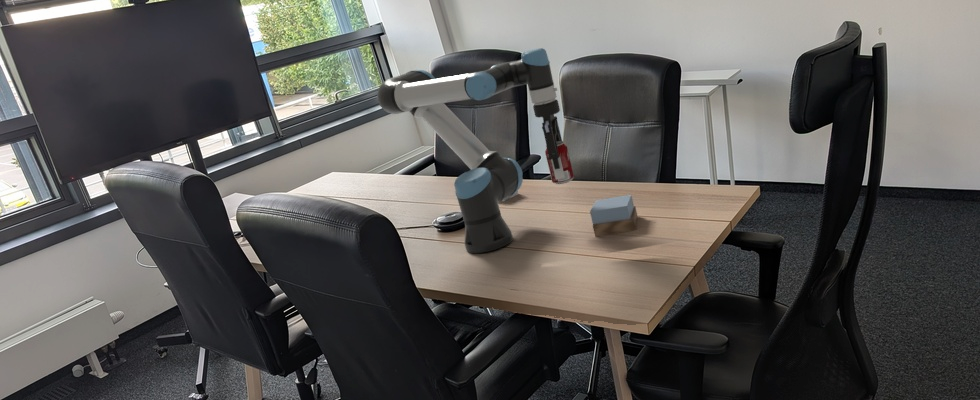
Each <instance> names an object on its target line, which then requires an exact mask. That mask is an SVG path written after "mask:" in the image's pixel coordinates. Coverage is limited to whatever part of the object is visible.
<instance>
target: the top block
mask: <svg viewBox="0 0 980 400" xmlns="http://www.w3.org/2000/svg"><path fill="white" fill-rule="evenodd" d="M634 206H635V205H634V200H633V196H632V194H626V195H621V196H614V197H609V198H602V199H596V200H595V202H594V203H593V205H592V207H591V209H590V210H589V214H590V217H591V222H592V225H593V224H600V223H606V222H612V221H619V220H625V219H630V217H631V214H632V211H633V209H634Z"/></svg>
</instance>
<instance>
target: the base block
mask: <svg viewBox="0 0 980 400" xmlns="http://www.w3.org/2000/svg"><path fill="white" fill-rule="evenodd" d="M638 218H639V216H638V212H637V208H636V206H635V205H634V209H633V211H632V214H631V217H630V219H625V220H619V221H612V222H606V223H600V224H593V223H592V230H593V233H594V236H595V238H596V237H601V236H607V235H613V234H618V233H619V234H620V233H625V232H630V231H637V225H638Z"/></svg>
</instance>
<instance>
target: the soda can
mask: <svg viewBox="0 0 980 400" xmlns="http://www.w3.org/2000/svg"><path fill="white" fill-rule="evenodd" d="M545 147H546V148H545V158H546V160H547V161H546V162H547V166H548V170H549V175H550V177H551V182H552V183H553V184H555V185H563V184H567V183H569V182H571V181H572V180H573V179H574V178H575V176H574V171H573V167H572V162H571V159H570V154H569V150H568V149H569V148H568V146H567V145H566V144H565V141H563V140H562V141H558V142H557V147H558V153H559V157H560V159H561V163H562V167H563V172H564V176H565V178H562V179H557V180H556V179H555V174H554V170H553V166H552V162H551V159H549V160H548V157H549V155H548V150H547V145H545ZM553 154H555V153H553Z"/></svg>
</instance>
